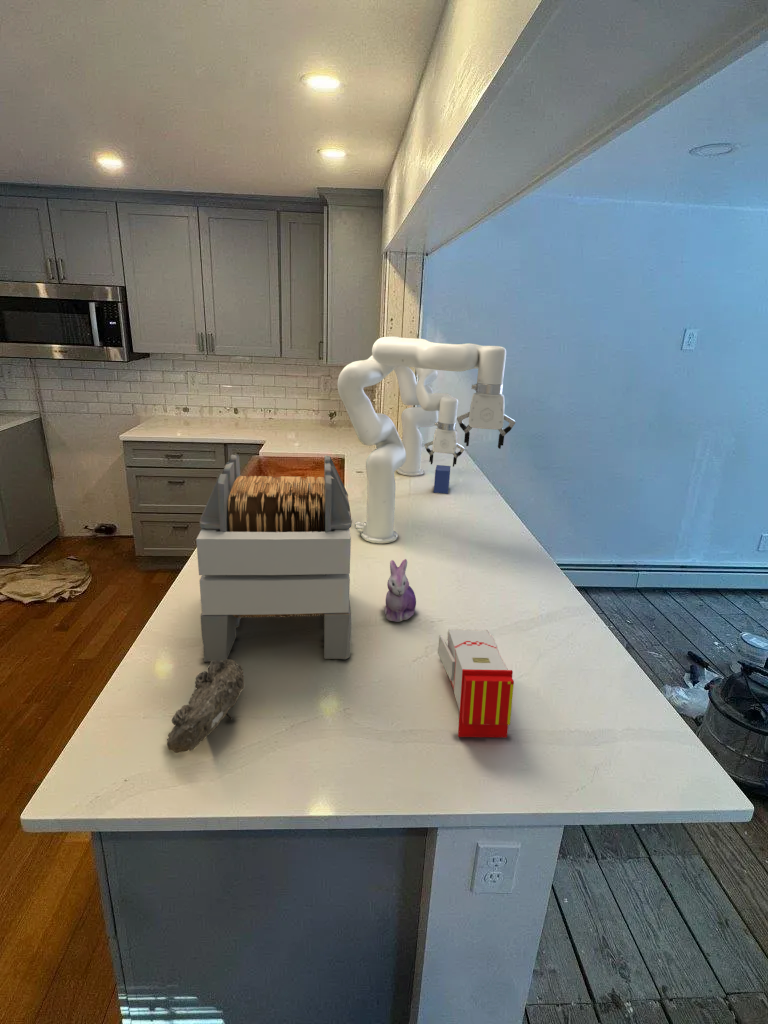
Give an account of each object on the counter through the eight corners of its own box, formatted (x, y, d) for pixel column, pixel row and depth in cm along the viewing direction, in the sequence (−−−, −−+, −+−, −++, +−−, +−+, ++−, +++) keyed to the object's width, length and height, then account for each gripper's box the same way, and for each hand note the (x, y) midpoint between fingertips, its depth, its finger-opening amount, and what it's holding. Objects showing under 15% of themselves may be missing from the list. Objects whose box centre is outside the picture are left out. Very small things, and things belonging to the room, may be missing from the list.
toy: (488, 613, 130) (523, 677, 101) (484, 667, 133) (517, 744, 104) (435, 612, 130) (455, 676, 101) (432, 666, 133) (451, 743, 103)
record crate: (225, 590, 155) (216, 445, 141) (344, 589, 159) (347, 447, 145) (201, 664, 123) (186, 485, 110) (351, 660, 127) (355, 487, 113)
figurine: (392, 627, 141) (395, 572, 136) (374, 608, 149) (376, 556, 144) (425, 619, 145) (429, 566, 140) (405, 601, 154) (408, 550, 149)
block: (433, 492, 247) (435, 470, 243) (434, 486, 255) (436, 464, 252) (447, 493, 246) (449, 471, 243) (448, 488, 254) (450, 466, 251)
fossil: (192, 660, 117) (244, 628, 112) (224, 691, 120) (276, 661, 115) (142, 746, 98) (202, 712, 93) (182, 779, 101) (242, 748, 96)
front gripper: (459, 389, 164) (454, 447, 170) (520, 393, 162) (512, 451, 168) (459, 386, 171) (455, 441, 177) (518, 389, 169) (511, 445, 175)
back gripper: (425, 426, 239) (422, 465, 245) (466, 430, 237) (462, 469, 243) (427, 422, 246) (423, 460, 252) (467, 426, 244) (462, 464, 250)
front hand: (483, 446), depth 172 cm, fingers open, 9 cm apart
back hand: (442, 464), depth 248 cm, fingers open, 9 cm apart
